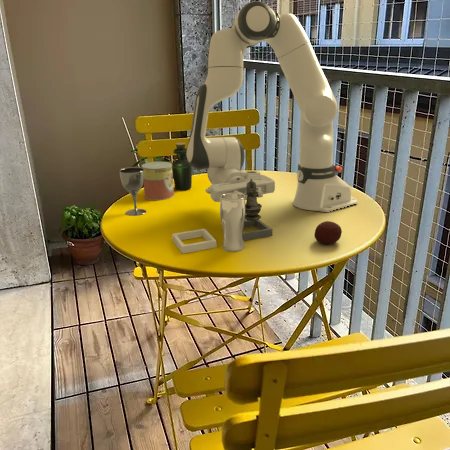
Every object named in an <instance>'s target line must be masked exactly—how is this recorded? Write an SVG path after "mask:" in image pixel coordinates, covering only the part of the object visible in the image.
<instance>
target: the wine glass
mask: <svg viewBox="0 0 450 450" xmlns="http://www.w3.org/2000/svg"><path fill="white" fill-rule="evenodd" d="M119 178H120V181H121V184H122V187H123V188H124V189H125V191H127V192H128V193H129V194H130V195H131V197H132V202H133V206H134V208H132V209H129V210H126V211H125V215H126V216H131V217H136V216H141V215H144V214H146V213H147V210H146V209H144V208H138V206H137V196H138V194H139V192H140V191H141V189H142V188H143V187H144V169H143V168H142V166H141V167H140V166H131V167H130V166H128V167H123V168H121V169H119Z"/></svg>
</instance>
